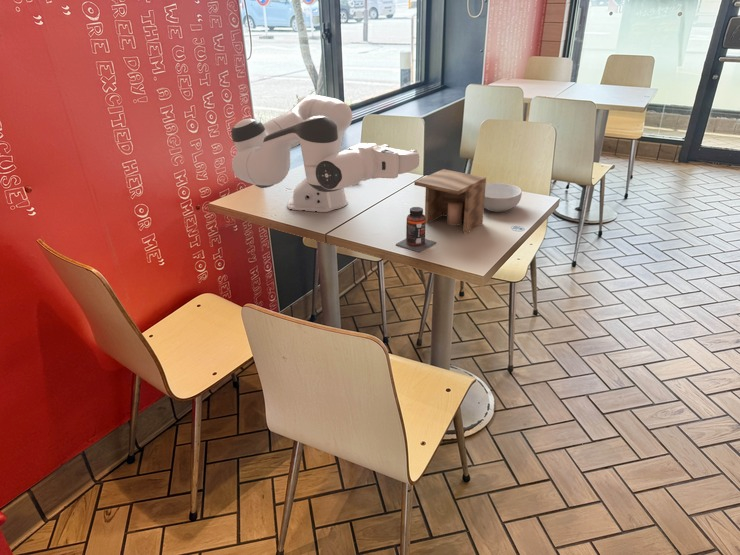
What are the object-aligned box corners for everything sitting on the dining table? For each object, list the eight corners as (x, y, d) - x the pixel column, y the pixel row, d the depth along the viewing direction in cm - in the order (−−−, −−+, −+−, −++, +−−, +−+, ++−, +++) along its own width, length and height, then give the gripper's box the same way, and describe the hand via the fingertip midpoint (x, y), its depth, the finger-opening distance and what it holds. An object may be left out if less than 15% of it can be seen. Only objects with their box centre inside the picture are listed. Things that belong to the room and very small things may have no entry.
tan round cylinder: (447, 225, 184) (448, 205, 180) (446, 219, 188) (447, 200, 185) (462, 225, 183) (463, 205, 180) (461, 219, 188) (462, 200, 184)
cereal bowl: (470, 200, 205) (471, 182, 202) (514, 200, 205) (516, 182, 201) (476, 216, 190) (478, 197, 187) (524, 216, 189) (526, 197, 186)
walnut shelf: (455, 239, 172) (458, 191, 165) (413, 228, 182) (414, 181, 174) (482, 223, 184) (486, 177, 177) (441, 213, 193) (443, 169, 186)
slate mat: (419, 252, 165) (419, 251, 164) (395, 245, 170) (395, 244, 169) (435, 242, 171) (435, 241, 170) (412, 236, 176) (412, 235, 176)
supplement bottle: (424, 247, 167) (425, 212, 162) (404, 246, 168) (405, 211, 163) (426, 239, 172) (427, 206, 167) (407, 238, 173) (408, 205, 168)
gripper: (339, 166, 148) (372, 155, 157) (399, 179, 136) (430, 167, 146) (338, 143, 145) (371, 133, 154) (399, 155, 133) (431, 144, 143)
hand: (400, 150), depth 150 cm, fingers open, 8 cm apart
